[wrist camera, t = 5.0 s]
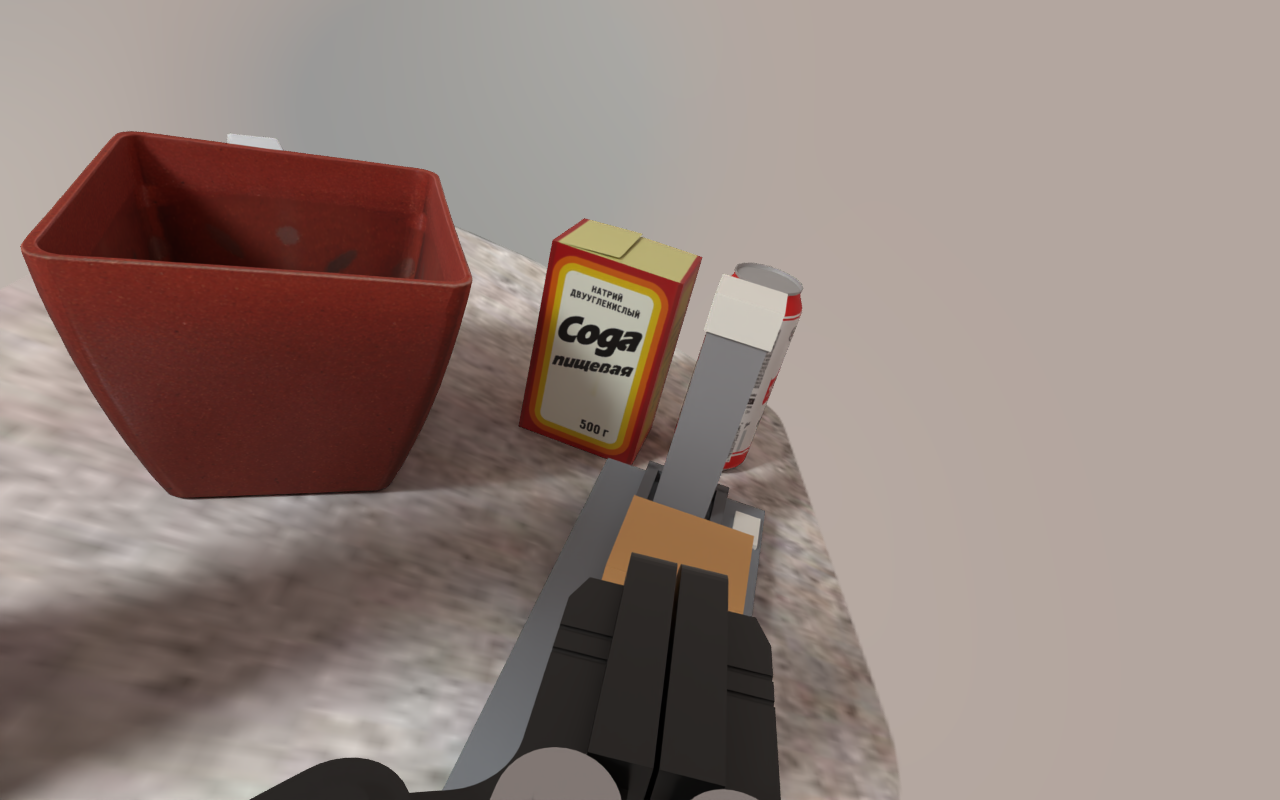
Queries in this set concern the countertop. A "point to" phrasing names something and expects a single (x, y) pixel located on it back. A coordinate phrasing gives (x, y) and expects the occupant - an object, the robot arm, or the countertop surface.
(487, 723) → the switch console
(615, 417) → the baking soda box
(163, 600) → the countertop surface
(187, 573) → the countertop surface
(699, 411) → the switch cream
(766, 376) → the beer can
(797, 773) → the countertop surface
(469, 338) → the countertop surface
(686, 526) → the switch orange
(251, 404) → the plant pot
